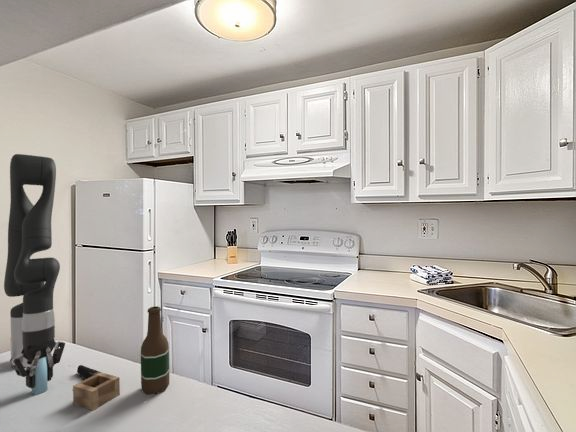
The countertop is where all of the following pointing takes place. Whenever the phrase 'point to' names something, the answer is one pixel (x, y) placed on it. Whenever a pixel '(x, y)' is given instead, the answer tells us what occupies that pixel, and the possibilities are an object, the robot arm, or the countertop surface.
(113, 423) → the countertop surface
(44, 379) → the peg
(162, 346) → the beer bottle
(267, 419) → the countertop surface
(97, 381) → the socket block
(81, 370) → the electric trimmer
